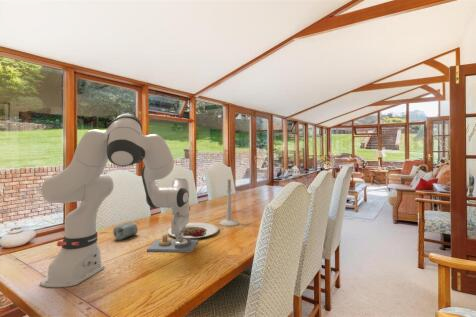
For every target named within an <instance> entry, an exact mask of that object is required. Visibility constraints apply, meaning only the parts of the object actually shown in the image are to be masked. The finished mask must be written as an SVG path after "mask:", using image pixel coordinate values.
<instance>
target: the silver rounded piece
mask: <svg viewBox="0 0 476 317" xmlns="http://www.w3.org/2000/svg"><path fill="white" fill-rule="evenodd" d="M179 235H180V240H179V241H176V239H174V242H173V244H174V246H175V244H185V243H187V242H188V240H186V239H183V232H180V234H179Z"/></svg>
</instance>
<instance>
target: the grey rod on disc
mask: <svg viewBox="0 0 476 317" xmlns="http://www.w3.org/2000/svg"><path fill="white" fill-rule="evenodd" d="M231 182H232V180H231V179H230V178H228V179H227V189H226V191H227V192H226V193H227V203H226V206H227V207H226V218H225V219H223V220H221V221H219V225H220V226H222V227H236V226H238V225H239V224H240V223H239V221H238V220H236V219H233V217H232V216H233V213H232V197H231V196H232V195H231V193H232V190H233V189H232V186H231Z"/></svg>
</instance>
